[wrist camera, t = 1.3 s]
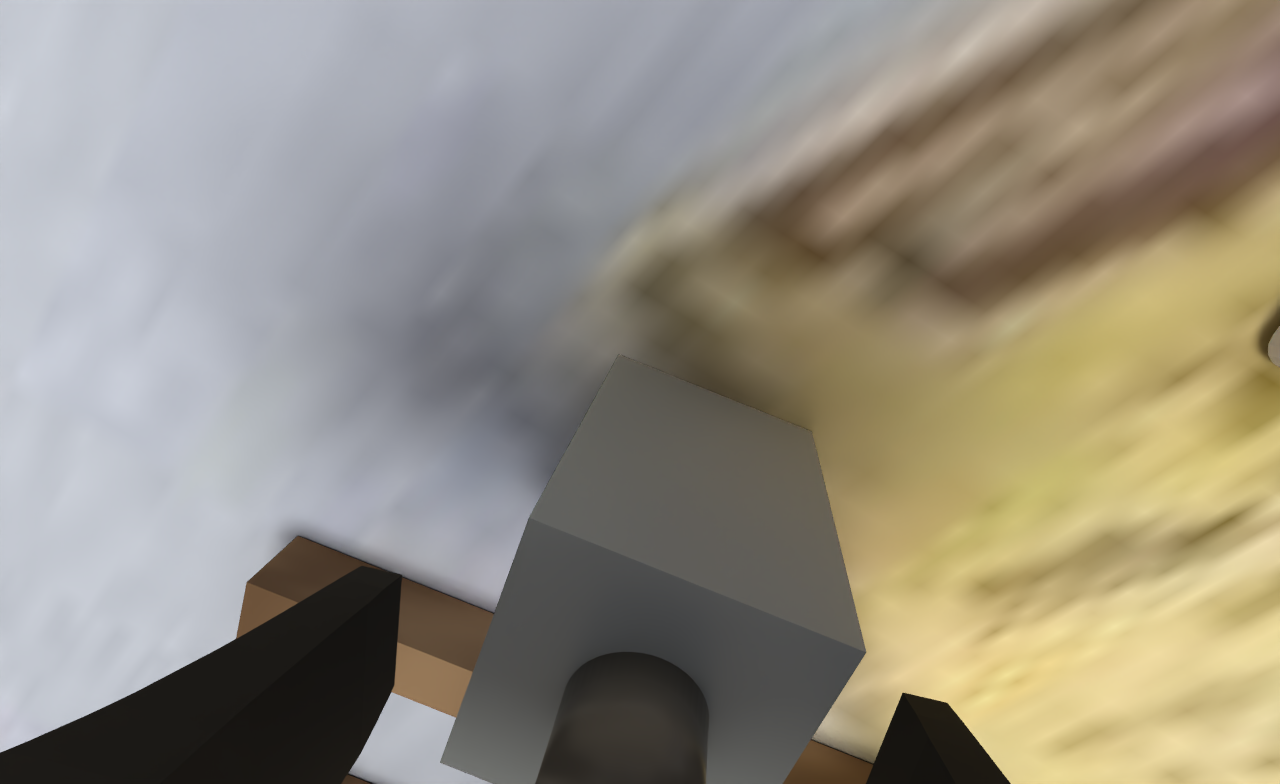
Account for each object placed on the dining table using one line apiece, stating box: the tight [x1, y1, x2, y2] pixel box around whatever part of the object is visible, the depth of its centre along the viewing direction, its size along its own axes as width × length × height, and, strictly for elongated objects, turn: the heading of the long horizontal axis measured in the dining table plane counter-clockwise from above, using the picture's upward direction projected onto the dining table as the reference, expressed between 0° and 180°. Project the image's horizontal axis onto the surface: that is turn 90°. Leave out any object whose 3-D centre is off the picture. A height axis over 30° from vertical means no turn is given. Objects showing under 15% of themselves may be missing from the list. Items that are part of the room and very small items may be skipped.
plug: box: [440, 354, 866, 784], centre depth 12 cm, size 4×4×8 cm
